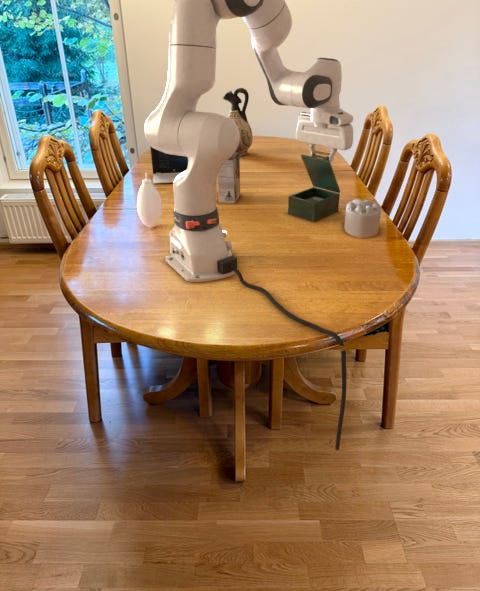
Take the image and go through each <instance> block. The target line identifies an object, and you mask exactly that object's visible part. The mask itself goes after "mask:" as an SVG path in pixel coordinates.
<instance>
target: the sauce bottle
mask: <svg viewBox="0 0 480 591" xmlns="http://www.w3.org/2000/svg"><path fill="white" fill-rule="evenodd" d="M136 210H137V215H138V217H139V219H140V221H141V223H142V224H143V225H145V226H146V227H148V228H151V229H153V228H155V227H157V226H158V225H159V224H160V222H161V220H162V217H163V203H162V199H161V195H160V193H159V191H158V189H157V187H156V186H155V184H154V183H153V182H152V180H151V179H150V178H148V173H147V171H145V178H144V179H142V183H141V184H140V187H139V189H138V193H137V198H136Z"/></svg>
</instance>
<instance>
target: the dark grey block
mask: <svg viewBox="0 0 480 591" xmlns="http://www.w3.org/2000/svg"><path fill="white" fill-rule="evenodd" d="M306 200H307V201H311V202H314V203H315V202H318V201H320V200H323V199H322V198H319V197H315V196H313V197H311V198H308V199H306Z"/></svg>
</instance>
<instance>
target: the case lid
mask: <svg viewBox="0 0 480 591" xmlns="http://www.w3.org/2000/svg"><path fill="white" fill-rule="evenodd" d="M330 153H331V152H330ZM330 153H329V152H326V151H325V152H324V151H321V150H320V151H319V150H316V152H315V156H314V157H311V155H306V154H301V155H300V158H301V160H302V163H303V165H304V167H305V169H306V173H307V175H308V177H309V179H310V182H311V185H312V187H316V188H320V189H324V190H328V191H331V192H335V193H339V194H341V189H340V187H339V183H338V181H337V177H336V175H335V172H334V169H333V166H332V163H331V162H330V161H329V160H327V155H330Z"/></svg>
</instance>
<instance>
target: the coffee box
mask: <svg viewBox="0 0 480 591" xmlns="http://www.w3.org/2000/svg"><path fill="white" fill-rule="evenodd" d="M239 154H240V153H237V152H235V153H234V154H233V155H232V156H231V157H230V158H229V159H227V160H226V161H225V162H224V163H223V165H222V166H221V168H220V170H219V172H218V175H217V195H218V196H217V197H218V203H226V204H236V202H237V201H238V200H239V198H240V196H241V171H240V170H241V167H240V166H241V165H240V160H241V159H240V158H241V156H240V155H239Z"/></svg>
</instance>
